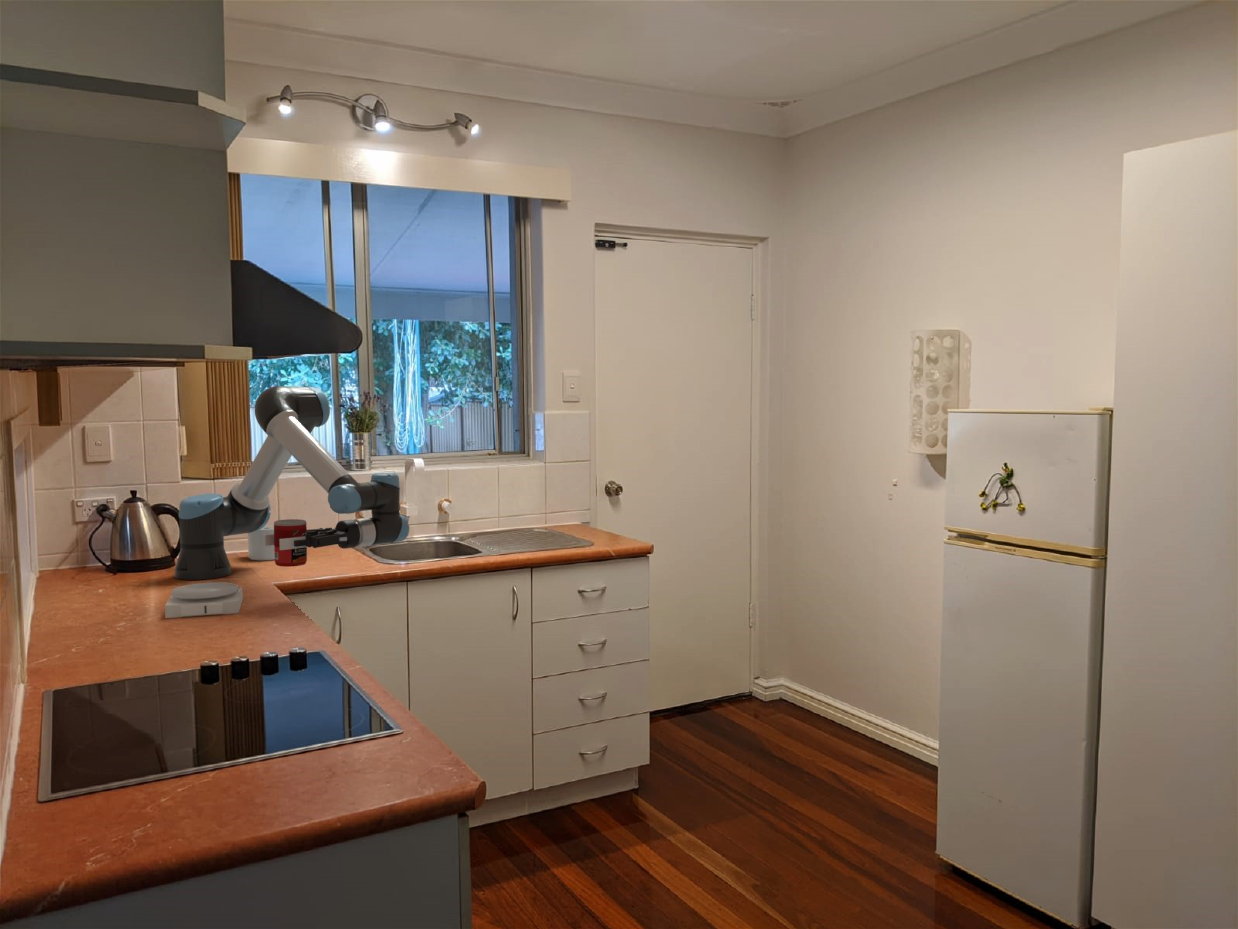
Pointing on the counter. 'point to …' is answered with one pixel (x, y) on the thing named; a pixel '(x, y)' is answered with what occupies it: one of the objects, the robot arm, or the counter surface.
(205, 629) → the counter surface
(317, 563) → the counter surface
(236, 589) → the kitchen scale
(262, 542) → the toilet tissue
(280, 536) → the canned food
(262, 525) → the robot arm
